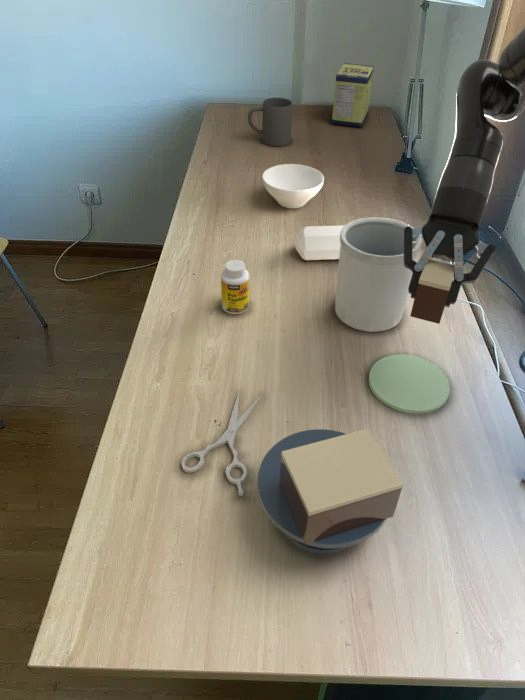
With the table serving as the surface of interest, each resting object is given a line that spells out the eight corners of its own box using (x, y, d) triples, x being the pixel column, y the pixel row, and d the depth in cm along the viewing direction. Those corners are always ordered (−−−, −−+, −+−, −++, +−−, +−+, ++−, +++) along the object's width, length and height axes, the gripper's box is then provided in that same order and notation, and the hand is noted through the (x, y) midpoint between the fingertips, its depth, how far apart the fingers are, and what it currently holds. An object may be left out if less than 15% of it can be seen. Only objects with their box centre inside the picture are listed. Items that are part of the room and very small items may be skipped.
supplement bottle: (225, 317, 113) (223, 274, 106) (219, 301, 117) (217, 259, 110) (252, 313, 114) (252, 271, 107) (245, 297, 118) (245, 255, 111)
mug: (289, 135, 184) (291, 97, 176) (291, 146, 177) (293, 107, 169) (247, 135, 183) (247, 97, 175) (248, 146, 176) (248, 107, 168)
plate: (437, 357, 105) (438, 354, 104) (458, 413, 94) (459, 410, 94) (363, 357, 104) (363, 354, 104) (375, 413, 94) (376, 410, 94)
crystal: (298, 252, 124) (404, 249, 125) (295, 224, 126) (399, 220, 128) (294, 267, 131) (395, 264, 133) (291, 240, 133) (390, 237, 135)
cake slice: (446, 302, 90) (456, 265, 85) (439, 324, 86) (450, 286, 81) (417, 295, 91) (427, 258, 86) (410, 316, 87) (419, 279, 82)
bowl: (330, 212, 145) (332, 187, 141) (270, 219, 142) (271, 193, 138) (311, 185, 157) (313, 161, 152) (255, 191, 154) (255, 166, 149)
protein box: (368, 112, 201) (374, 65, 190) (361, 128, 189) (368, 78, 179) (339, 109, 203) (344, 62, 192) (330, 124, 191) (335, 75, 181)
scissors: (174, 475, 83) (221, 383, 97) (175, 478, 84) (221, 386, 98) (242, 494, 81) (280, 397, 95) (242, 497, 82) (280, 400, 96)
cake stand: (350, 450, 88) (363, 383, 78) (408, 552, 76) (432, 487, 66) (240, 480, 84) (239, 413, 74) (283, 594, 71) (288, 531, 61)
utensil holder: (322, 293, 119) (330, 219, 107) (388, 286, 122) (403, 212, 110) (344, 338, 108) (355, 261, 97) (416, 329, 111) (435, 252, 99)
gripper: (415, 175, 84) (382, 285, 84) (515, 195, 80) (481, 310, 80) (415, 193, 91) (385, 294, 91) (507, 212, 87) (475, 317, 87)
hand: (430, 301), depth 85 cm, fingers closed on cake slice, 4 cm apart
